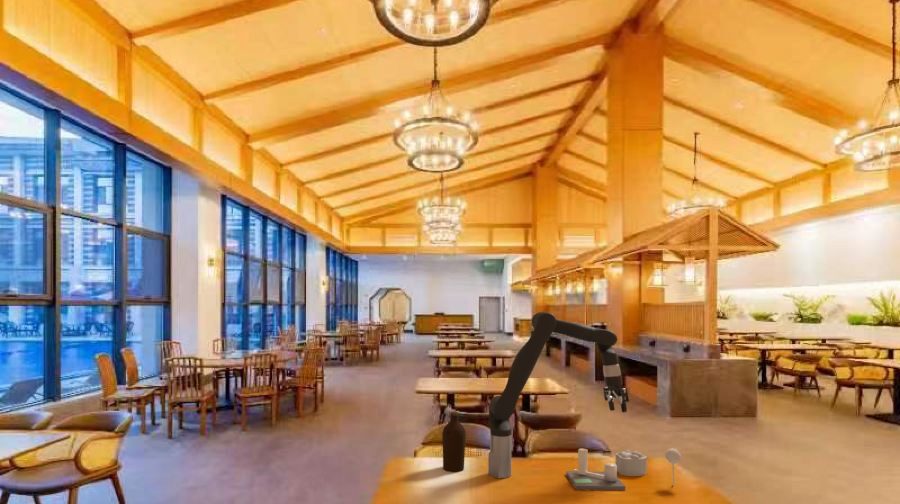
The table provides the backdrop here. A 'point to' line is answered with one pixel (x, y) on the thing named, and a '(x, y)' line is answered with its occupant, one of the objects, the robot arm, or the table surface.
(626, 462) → the lumpy-topped squat cylinder
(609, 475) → the beige u-shaped piece
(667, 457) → the lollipop
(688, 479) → the table surface
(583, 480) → the green band
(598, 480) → the board
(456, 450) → the olive oil
